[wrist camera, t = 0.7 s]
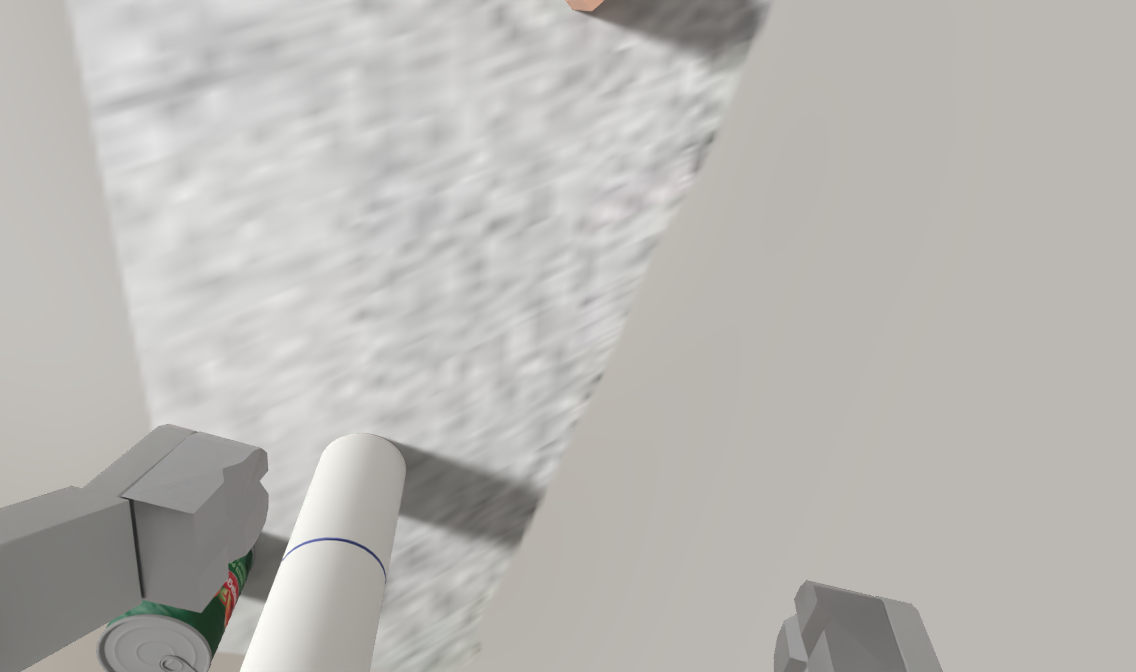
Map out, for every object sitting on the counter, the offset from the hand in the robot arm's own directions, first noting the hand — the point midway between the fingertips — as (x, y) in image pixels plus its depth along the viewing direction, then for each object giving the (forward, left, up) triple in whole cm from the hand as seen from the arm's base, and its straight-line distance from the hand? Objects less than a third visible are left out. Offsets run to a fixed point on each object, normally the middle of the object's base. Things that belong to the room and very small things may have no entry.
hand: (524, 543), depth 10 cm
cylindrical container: (+14, -28, -42) cm, 52 cm away
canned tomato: (+11, -44, -42) cm, 62 cm away
